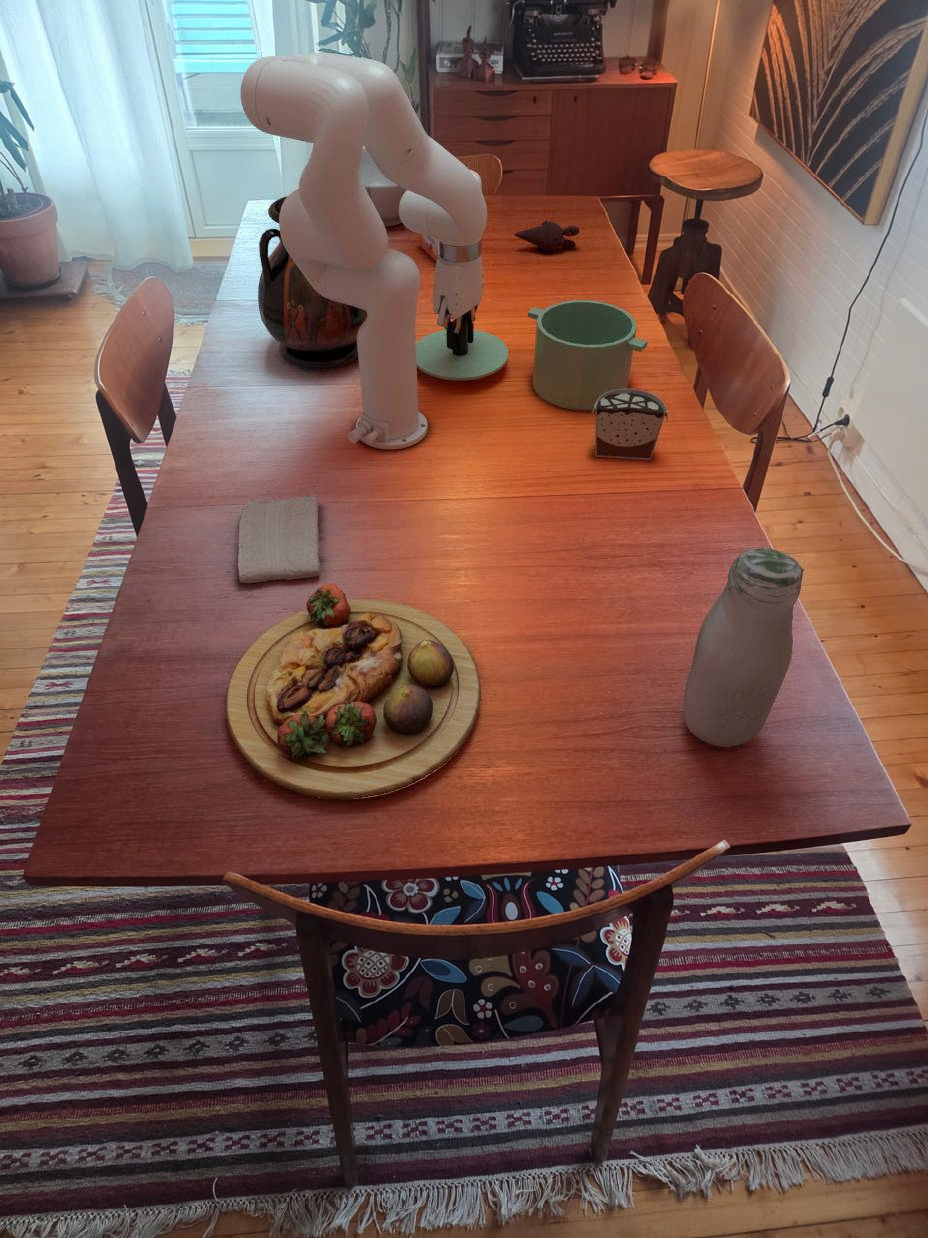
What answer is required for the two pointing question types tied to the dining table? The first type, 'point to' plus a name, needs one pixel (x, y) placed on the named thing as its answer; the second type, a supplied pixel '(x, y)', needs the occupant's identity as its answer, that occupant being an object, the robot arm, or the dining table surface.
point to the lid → (461, 355)
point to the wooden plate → (352, 697)
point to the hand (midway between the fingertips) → (460, 344)
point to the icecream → (549, 236)
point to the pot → (582, 352)
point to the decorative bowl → (381, 190)
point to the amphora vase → (303, 311)
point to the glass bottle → (743, 649)
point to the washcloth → (279, 540)
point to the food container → (628, 424)
